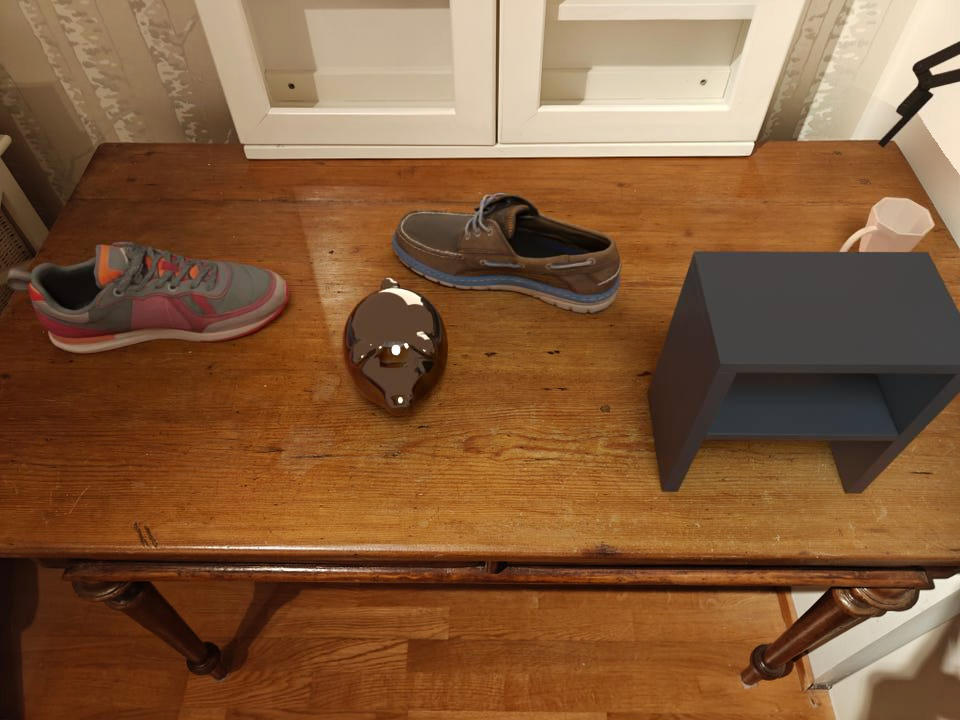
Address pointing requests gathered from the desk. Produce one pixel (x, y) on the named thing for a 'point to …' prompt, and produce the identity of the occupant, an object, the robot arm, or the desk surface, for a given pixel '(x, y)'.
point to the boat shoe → (512, 253)
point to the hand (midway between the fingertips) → (931, 182)
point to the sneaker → (148, 298)
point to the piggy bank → (395, 347)
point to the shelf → (805, 356)
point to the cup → (893, 227)
